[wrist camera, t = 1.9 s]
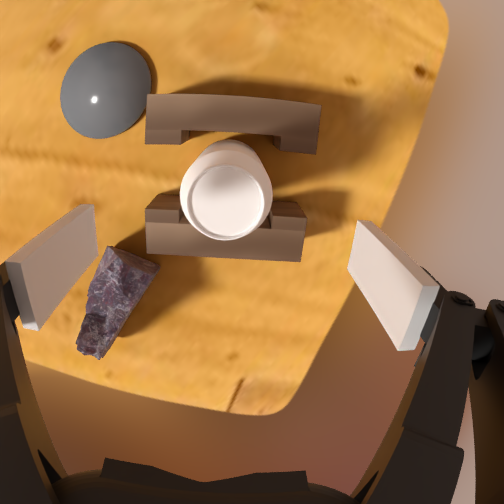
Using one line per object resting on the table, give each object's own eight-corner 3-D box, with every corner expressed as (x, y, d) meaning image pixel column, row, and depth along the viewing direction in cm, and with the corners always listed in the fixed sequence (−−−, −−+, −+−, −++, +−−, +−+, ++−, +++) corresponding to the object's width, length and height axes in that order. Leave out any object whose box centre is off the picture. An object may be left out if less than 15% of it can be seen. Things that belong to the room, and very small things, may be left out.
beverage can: (186, 154, 30) (158, 179, 19) (246, 128, 29) (253, 137, 18) (212, 209, 32) (201, 263, 21) (270, 186, 31) (289, 228, 21)
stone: (88, 272, 23) (49, 373, 27) (154, 308, 25) (98, 399, 30) (120, 225, 33) (76, 317, 37) (168, 253, 35) (116, 339, 39)
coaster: (66, 50, 24) (64, 49, 23) (156, 39, 25) (154, 38, 24) (61, 140, 28) (59, 141, 27) (148, 137, 29) (147, 137, 28)
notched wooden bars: (160, 96, 27) (147, 94, 23) (308, 106, 28) (321, 105, 24) (158, 233, 33) (146, 253, 28) (291, 240, 34) (300, 262, 29)
